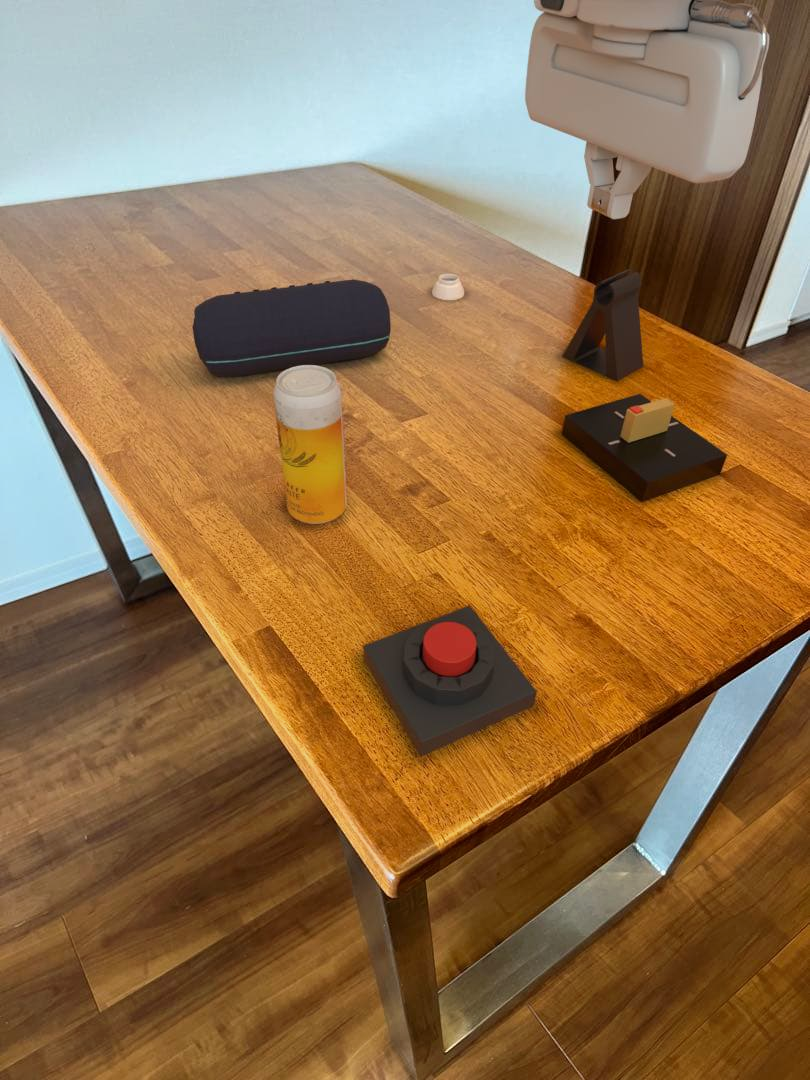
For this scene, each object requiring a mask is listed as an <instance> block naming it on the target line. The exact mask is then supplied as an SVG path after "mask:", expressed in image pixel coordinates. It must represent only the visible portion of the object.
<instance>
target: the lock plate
mask: <svg viewBox="0 0 810 1080" xmlns="http://www.w3.org/2000/svg"><path fill="white" fill-rule="evenodd" d="M651 402H652V401H651V400H650V399H649V398H647V397H645V395H643V394H641V393H637V394H634V395H631V396H627V397H624V398H620V399H617V400H616V399H615V400H613V401H609V402H606V403H603V404H599V405H596V406H593V407H588V408H586V409H581V410H577V411H574V412H572V413H568V414H565V415H564V420H563V425H562V431H561V436H562V437H564V438H565V439H566V440H567V441H568V442H570V443H571V444H572V446H574V447H575V448H577V449H578V450H579V451H580V452H582V453H583V454H584V455H585V456H586V457H588V459H590V460H591V461H592V462H593V463H595V465H597V466H598V467H599V468H600V469H601V470H603V471H604V472H605V473H606V474H607V475H608V476H610V477H611V478H612V479H613V480H614V481H616V482H617V483H618V484H619V485H620V486H621V487H623V488H624V489H625V490H626V491H628V493H630V494H631V495H632V496H633V497H635V498H636V499H637V500H638V501H639V502H641V503H644V502H647V501H649V500H653V499H655V498H658V497H661V496H664V495H667V494H670V493H672V492H675V491H678V490H680V489H684V488H686V487H689V486H693V485H694V484H698V483H700V482H703V481H706V480H709V479H712V478H714V477H717V476H720V475H721V473H722V471H723V468H724V465H725V463H726V460H727V457H728V454H727V453H726V452H724V451H723V450H722V449H720V448H718V447H717V446H716V445H714V444H713V443H711V442H710V441H709V440H707V439H706V438H704V437H703V436H701V434H699V433H697V432H696V431H695V430H693V429H692V428H690V427H689V426H687V425H685V424H684V423H683V422H681V421H680V420H679V419H677V418H676V417H675V416H673V415H672V416H671V419H670V423H669V426H668V429H667V431H665V432H662V433H658V434H655V435H652V436H649V437H646V438H642V439H639V440H636V441H633V442H629V443H628V442H627V441H625V440H624V439H623V438H621V437H620V436H621V432H622V428H623V424H624V420H625V416H626V412H627V409H630V407H633V406H640V405H644V404H647V403H651Z"/></svg>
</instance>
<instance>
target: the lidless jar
mask: <svg viewBox="0 0 810 1080" xmlns="http://www.w3.org/2000/svg"><path fill="white" fill-rule="evenodd" d="M431 295H432V296H433V297H434V298H436V299H438V300H441V301H456V300H460V299H462V298H463V297H464V296H465V289H464V286H463V284H462V281H460V277H459V276H458V275H456V274H454V273H443V274H441V275H439V276H438V279H437V280H436V282H435V283H434V285H433V287H432V289H431Z"/></svg>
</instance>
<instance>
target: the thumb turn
mask: <svg viewBox="0 0 810 1080" xmlns="http://www.w3.org/2000/svg"><path fill="white" fill-rule="evenodd" d="M675 406H676V403H675V402H673V401H672V400H671V399H669V398H667V397H664V398H661V399H657V400H653V401H651V403H647V404H644V405H640V406H633V407H630V409H627V412H626V416H625V420H624V424H623V428H622V432H621V436H620V437H621V438H623V439H624V440H625V441H627V442H628V443H629V442H633V441H636V440H639V439H642V438H646V437H649V436H652V435H655V434H658V433H662V432H665V431H667V429H668V426H669V423H670V419H671V416H673V412H674V409H675Z"/></svg>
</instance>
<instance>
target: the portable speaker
mask: <svg viewBox="0 0 810 1080" xmlns="http://www.w3.org/2000/svg"><path fill="white" fill-rule="evenodd" d="M193 314H194V317H193V324H192V328H191V329H192V335H193V341H194V345H195V349H196V351H197V354H198V357H199V359H200V360H201V361H202V363H203V365H204V367H206V369H207V370H208V372H209V374H210V375H212V376H216V377H241V376H249V375H254V374H261V373H269V372H275V371H276V372H277V371H284V370H287V369H289V368H292V367H296V366H301V365H316V366H319V365H324V364H332V363H339V362H346V361H352V360H360V359H364V358H367V357H370V356H374V355H376V354H378V353H380V352H381V351H383V350H384V349H385V348H387V345H388V343H389V341H390V336H391V329H392V328H391V310H390V306H389V303H388V300H387V297H386V296H385V294H384V292H383V291H382V288H380V286H378V285H376V284H374V283H371V282H368V281H365V280H359V279H353V278H352V279H346V280H336V281H331V280H325V281H323V282H320V283H319V282H318V283H313V282H307V283H306V284H302V285H295V284H291V285H289V286H286V287H276V286H274V287H271V288H269V289H261V290H260V289H258V288H257V289H255V288H254V289H252V290H251V291H244V292H241V291H234V292H233V293H227V294H218V295H215V296H212V297H210V298H208V299H205V300H204V301H202V302H201V303H199V304H198V305H197V306H195V308H194V311H193Z"/></svg>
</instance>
